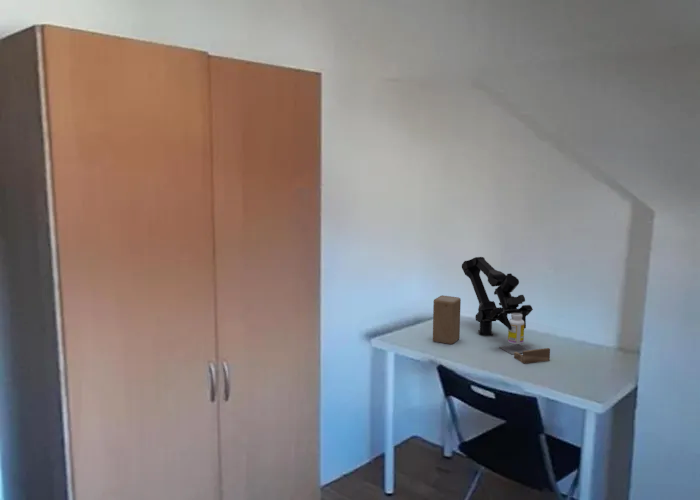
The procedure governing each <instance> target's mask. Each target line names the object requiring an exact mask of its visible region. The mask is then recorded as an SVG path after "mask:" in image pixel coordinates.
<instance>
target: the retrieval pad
mask: <svg viewBox="0 0 700 500" xmlns="http://www.w3.org/2000/svg"><path fill="white" fill-rule="evenodd" d="M499 349H500V350H503V351H504V352H506V353H508V354H510V355H511V356H514V352H518V353H520V354H521V355H523V351H527V350H529V349H528V348H527V347H525V346H523V345H522V344H511V345H510V344H508V345H502V346H499Z"/></svg>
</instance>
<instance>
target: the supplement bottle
mask: <svg viewBox="0 0 700 500" xmlns="http://www.w3.org/2000/svg"><path fill="white" fill-rule="evenodd" d="M510 317H511V318H510V319H508V320H509V322H510V325H511V328H512V329H511V330H509V329H508V328H507V331H508V332H507V342H508V343H509V344H511V345H518V344H519V345H523V344H524V341H525V340H524V339H525V338H524V337H525V329H524V321H523V320H522V314H521V313H512V314H510Z"/></svg>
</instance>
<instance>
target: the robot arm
mask: <svg viewBox="0 0 700 500" xmlns="http://www.w3.org/2000/svg"><path fill="white" fill-rule="evenodd" d="M461 269H462V271H463V273H464V275H465V276H466V277H468V278H469V280H470V282H471V285H472V288H473V290H474V293H475V296H476V299H477V301H478V308H477V311H478V312H477V313H476V314H475V316H474V317H475V321H476V322H478V323H479V329H478V331H477V332H478V335H479V336H493V335H494V332H493V330H492V329H493V322H497V321H499V323H501V324H503V326H505V327H506V328H507V330H508V329H509V330H511V329H512V328H511V325H510V322H509V320H510V319H509V318H508V315H511V314H512V313H521V314H522V320H523V321H524V330H525V329H526V328H527V323H526V322H527V319H526V317H527V316H528V315H530V314H531V312H533V310H534V309H533V306H532V305H531V304H524V305H523V303H524V302H526V297H525V295H524V294H518V296H514V295H513V296H512V294H511V293H512V292H514V290H515V289H516V288H517V287H518V285H519V283H520V281H519V279H518V278H517V277H516V276H515V275H513V274H512V273H506V274H505V273H504V272H503V271H500V270H497V269H495V268H494V267H493V266H492V265H491V264H490V263H489V262H488V261H487V260H486V259H485V257H483V256H475V257H473V258H471V259H468V260H464V261H463V263H461ZM481 272H482V274H483V275H485V276H486V277H487V282H488V284H489V285H490V286H491V287H492V288H493V287H496V288H495V289H494V291H493V294H494V295H495V296H496V295H497V299H498V300H499V303H498V305H499V306H500V307H499V306H498V307H497V305H496V302H495V301H494V300H492V301H491V300H490V299H489V296H488V294H487V291H486V288H485V285H484V283H483V281H482V278H481V275H480V274H481ZM520 305H521V307H520V308H519V306H520Z"/></svg>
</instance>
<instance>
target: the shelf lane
mask: <svg viewBox="0 0 700 500" xmlns="http://www.w3.org/2000/svg"><path fill="white" fill-rule="evenodd" d="M550 355H551V348H549V347H545V348H544V347H543V348H539V349H538V348H537V349H528V350H527V351H523V354H520V353H518V352H514V355H513V358H514V359H515V360H517V361H519V362H521V363H522V364H531V363H540V362H548V361H550V360H551V359H550V357H551V356H550Z"/></svg>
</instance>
